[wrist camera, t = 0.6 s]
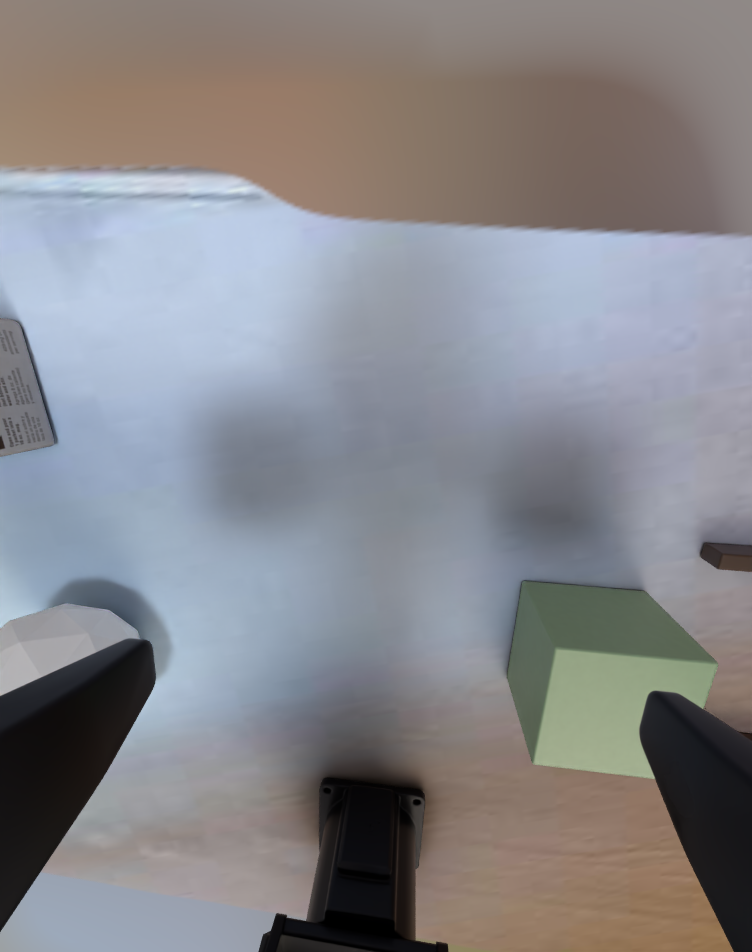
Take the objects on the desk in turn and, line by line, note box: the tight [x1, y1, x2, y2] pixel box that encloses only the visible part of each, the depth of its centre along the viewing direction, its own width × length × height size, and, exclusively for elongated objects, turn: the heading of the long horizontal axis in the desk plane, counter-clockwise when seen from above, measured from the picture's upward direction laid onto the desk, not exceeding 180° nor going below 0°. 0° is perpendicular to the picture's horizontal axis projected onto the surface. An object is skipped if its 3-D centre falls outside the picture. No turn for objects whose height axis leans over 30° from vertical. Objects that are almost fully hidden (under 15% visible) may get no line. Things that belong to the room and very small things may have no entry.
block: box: [507, 581, 718, 779], centre depth 18 cm, size 6×6×5 cm
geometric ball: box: [0, 603, 140, 696], centre depth 20 cm, size 8×8×8 cm
